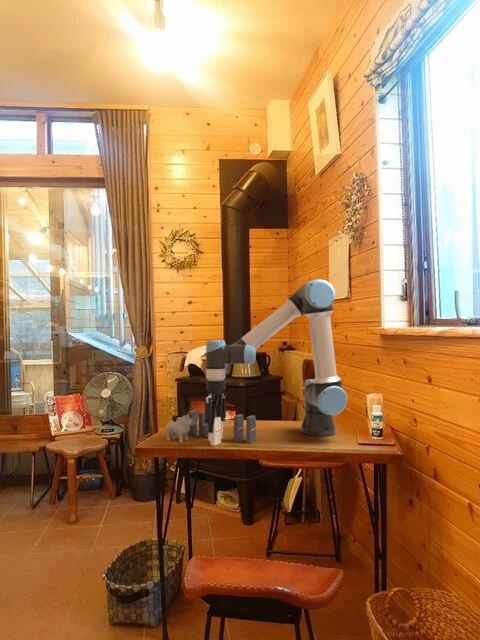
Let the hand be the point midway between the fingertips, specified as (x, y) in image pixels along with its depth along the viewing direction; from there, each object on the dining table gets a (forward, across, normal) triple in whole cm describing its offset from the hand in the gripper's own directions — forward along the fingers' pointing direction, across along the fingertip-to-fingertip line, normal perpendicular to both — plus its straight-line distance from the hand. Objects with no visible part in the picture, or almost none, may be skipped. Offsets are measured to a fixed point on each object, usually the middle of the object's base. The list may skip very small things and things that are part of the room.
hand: (215, 439), depth 176 cm
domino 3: (+2, -9, +6) cm, 11 cm away
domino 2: (+2, -9, -11) cm, 14 cm away
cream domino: (+2, 0, 0) cm, 2 cm away
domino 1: (+2, -9, -16) cm, 19 cm away
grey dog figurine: (+2, +1, -16) cm, 16 cm away
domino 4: (+2, -9, +11) cm, 14 cm away
